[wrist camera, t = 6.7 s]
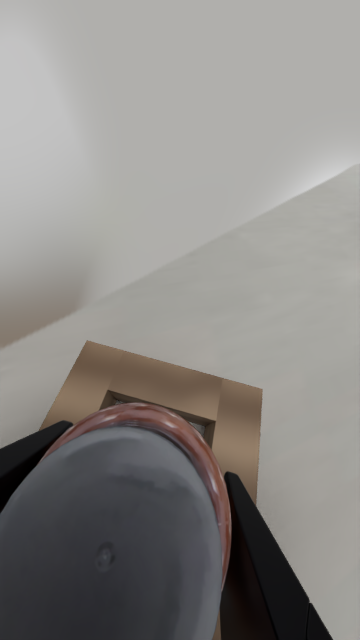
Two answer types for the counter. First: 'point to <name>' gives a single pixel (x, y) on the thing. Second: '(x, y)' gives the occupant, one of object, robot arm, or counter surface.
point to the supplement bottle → (117, 533)
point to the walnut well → (168, 404)
